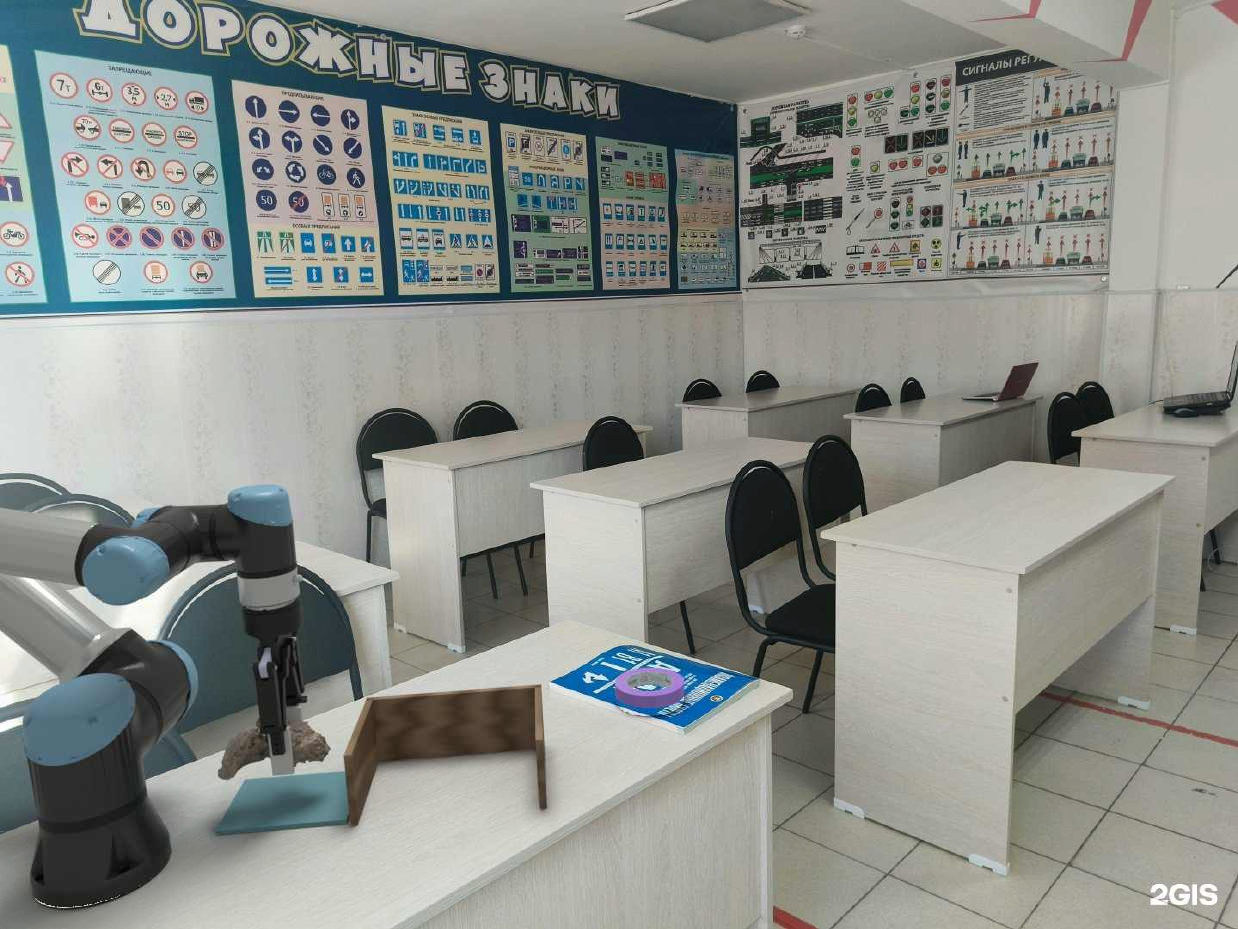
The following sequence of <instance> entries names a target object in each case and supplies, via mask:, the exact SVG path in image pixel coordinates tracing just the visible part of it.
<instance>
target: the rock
mask: <svg viewBox="0 0 1238 929" xmlns="http://www.w3.org/2000/svg"><path fill="white" fill-rule="evenodd" d="M308 723H309V722H308V721H303V722H301V721H299V722H298V723H296V722H295V723H291V724H289V720H288V718H287V717H286V724H287V727H290V735H291V744H292V753H293V761H294V768H297V764H299V763H301V764H306V762H309V763H312V762H320V763H323V762H324V761H325V758H326V757H327V755H328V756H329V754H330V753H329V752H330V751H331V750H332V748H331V746H330V745H329V744H328V743H327V741H326V737H325V736H324V735H322V734H321V733H319V732H316V731H315V729H313V728H312V727H311V725H310V724H308ZM259 729H260V719H259V717H257V720H256V722H255V727H253V728H251V729H249V730H247V729H244V730H241V731H239V732H238V733H237V734H235V735H234V736H233V737H231V738H230V739H229V742H228V743H227V745H226V748H225V751H224V754H223V756H222V759H221V762H220V764H221V767H220V768H219V769H217V777H218V778H219V779H221V780H222V781H223V780H224V781H230V780H231V779H234V778H235V776H236V775H237V773H238V772H239V771H240V770H241V769H242V768H243V767H245V766H248V765H251V764H254V763H260V762H262V761H265V759H266V758H269V759H270V751H269V742H268V734H263V735H262V734H261V733H260V731H259Z"/></svg>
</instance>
